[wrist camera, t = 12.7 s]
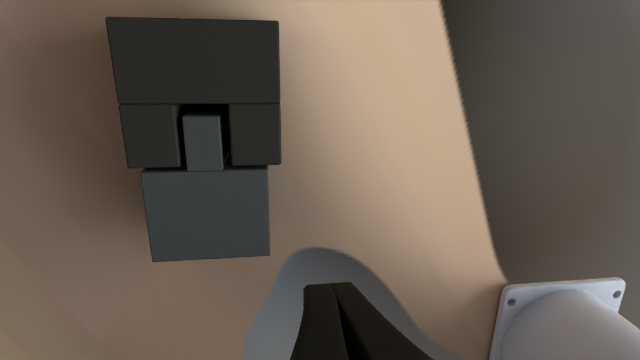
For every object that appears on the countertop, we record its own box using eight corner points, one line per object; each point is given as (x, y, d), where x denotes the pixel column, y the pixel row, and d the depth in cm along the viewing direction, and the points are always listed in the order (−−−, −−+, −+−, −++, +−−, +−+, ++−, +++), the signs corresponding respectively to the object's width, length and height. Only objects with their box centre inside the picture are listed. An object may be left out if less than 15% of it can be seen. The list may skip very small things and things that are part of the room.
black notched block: (278, 147, 19) (281, 165, 16) (148, 150, 18) (127, 168, 15) (276, 25, 17) (278, 20, 14) (132, 22, 16) (104, 16, 13)
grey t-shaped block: (269, 227, 20) (270, 256, 17) (168, 231, 19) (152, 262, 17) (265, 105, 18) (266, 116, 15) (153, 106, 17) (131, 117, 15)
